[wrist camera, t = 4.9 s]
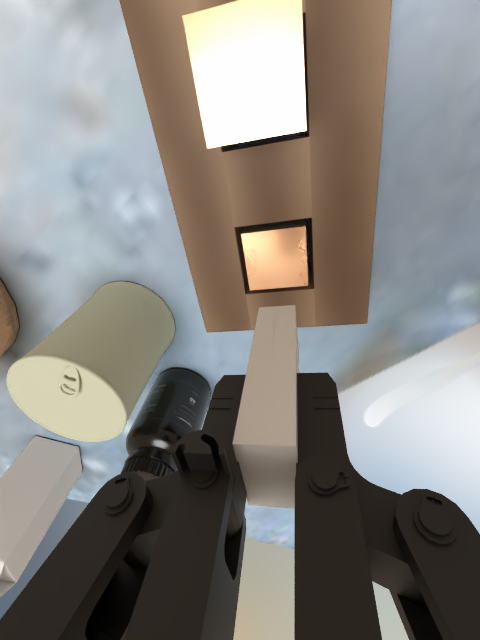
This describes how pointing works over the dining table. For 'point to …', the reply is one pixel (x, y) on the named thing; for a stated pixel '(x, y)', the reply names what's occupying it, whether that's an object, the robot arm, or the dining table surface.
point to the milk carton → (32, 501)
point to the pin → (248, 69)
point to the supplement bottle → (165, 422)
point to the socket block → (274, 162)
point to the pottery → (7, 320)
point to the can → (94, 363)
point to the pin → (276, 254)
